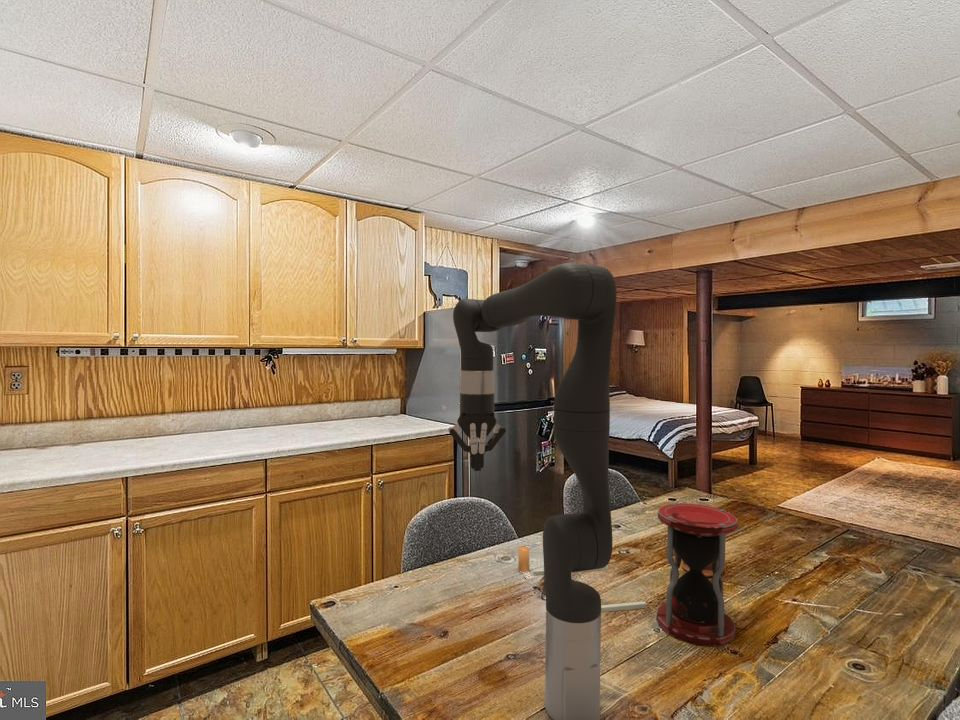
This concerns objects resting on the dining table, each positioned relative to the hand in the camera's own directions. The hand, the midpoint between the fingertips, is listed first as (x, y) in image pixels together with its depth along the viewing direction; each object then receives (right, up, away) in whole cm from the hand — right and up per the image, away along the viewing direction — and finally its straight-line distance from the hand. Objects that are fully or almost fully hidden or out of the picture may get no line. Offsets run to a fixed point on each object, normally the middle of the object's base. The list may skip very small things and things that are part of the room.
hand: (476, 470), depth 112 cm
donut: (+62, -34, +29) cm, 77 cm away
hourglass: (+48, -35, +1) cm, 60 cm away
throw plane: (+26, -34, +18) cm, 46 cm away
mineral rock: (+19, -35, +18) cm, 43 cm away
